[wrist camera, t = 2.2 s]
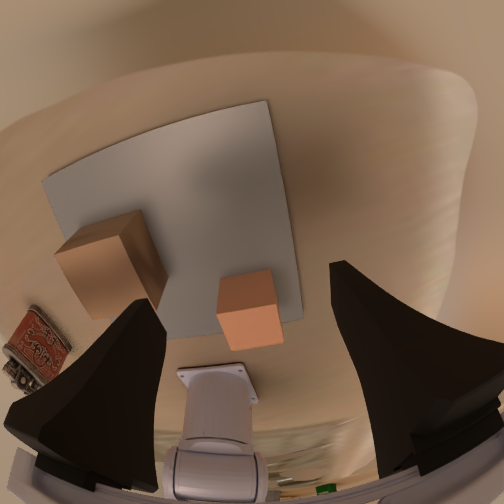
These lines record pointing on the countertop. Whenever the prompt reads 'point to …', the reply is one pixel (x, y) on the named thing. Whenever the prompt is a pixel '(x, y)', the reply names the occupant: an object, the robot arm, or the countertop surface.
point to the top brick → (249, 310)
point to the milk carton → (326, 489)
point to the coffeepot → (272, 496)
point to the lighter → (35, 352)
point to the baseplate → (193, 208)
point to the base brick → (113, 265)
